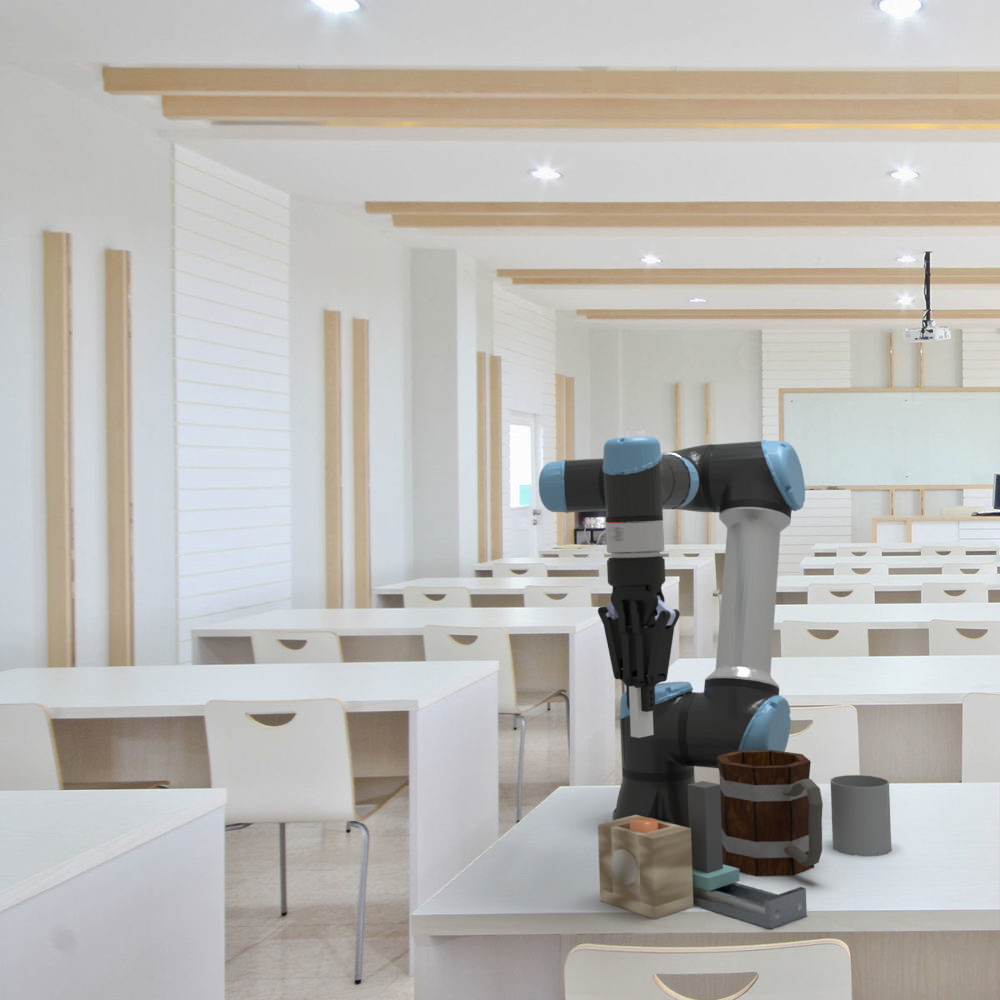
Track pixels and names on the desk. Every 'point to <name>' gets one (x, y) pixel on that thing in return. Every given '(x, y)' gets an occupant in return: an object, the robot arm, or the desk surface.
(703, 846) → the carriage
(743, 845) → the mug
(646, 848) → the wooden box
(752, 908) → the rail track
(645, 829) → the orange cylinder
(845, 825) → the cup
